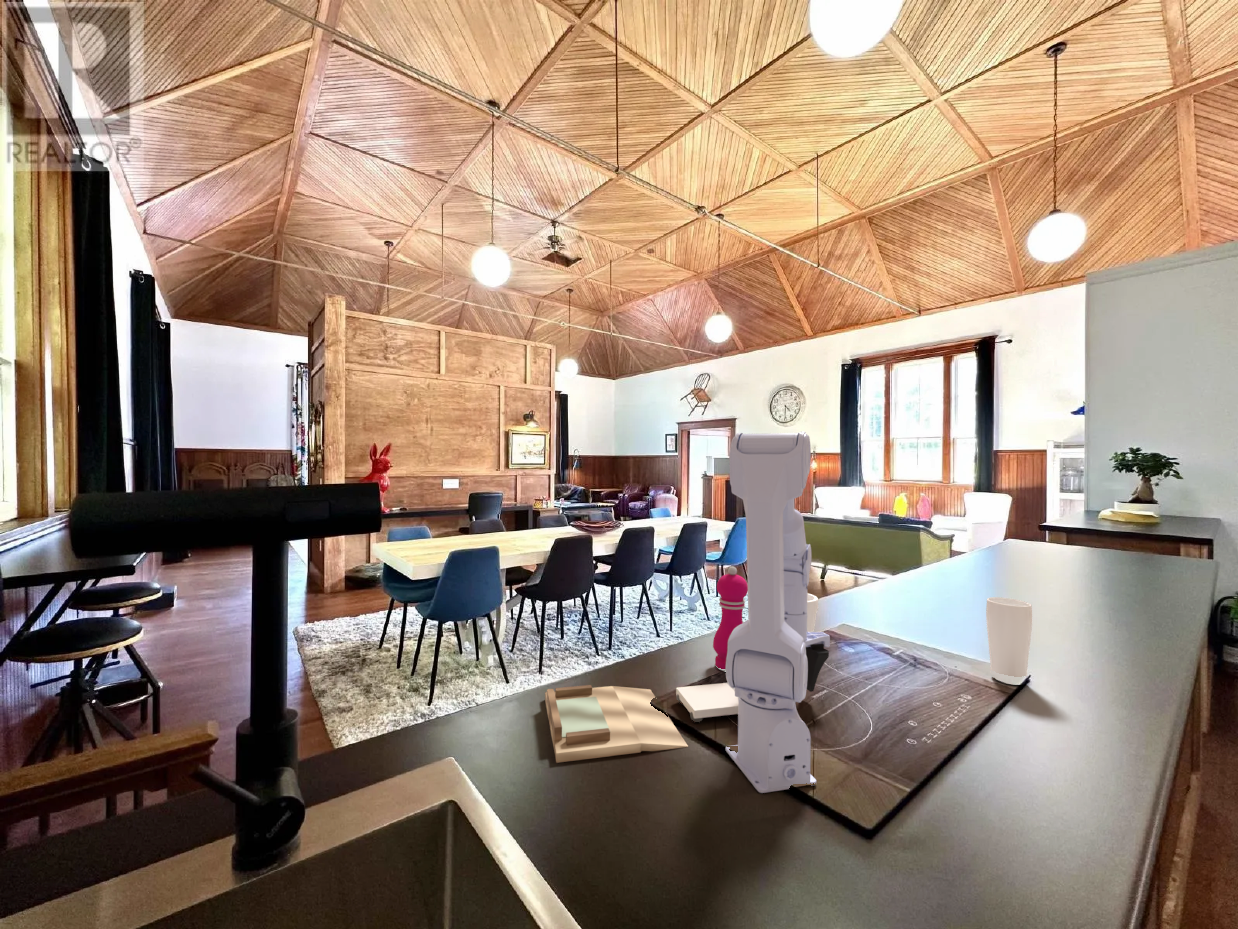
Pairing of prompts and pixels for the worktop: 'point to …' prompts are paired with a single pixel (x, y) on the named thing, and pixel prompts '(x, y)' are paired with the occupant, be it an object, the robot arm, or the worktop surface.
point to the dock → (607, 722)
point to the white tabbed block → (708, 700)
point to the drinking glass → (1009, 635)
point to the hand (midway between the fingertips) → (788, 691)
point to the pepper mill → (729, 611)
